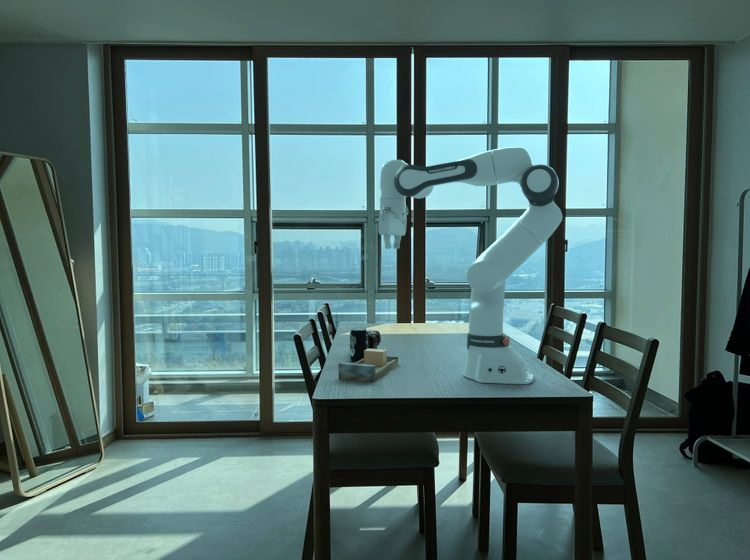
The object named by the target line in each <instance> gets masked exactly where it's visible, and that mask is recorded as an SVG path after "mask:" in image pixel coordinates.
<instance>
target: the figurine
mask: <svg viewBox="0 0 750 560" xmlns="http://www.w3.org/2000/svg"><path fill="white" fill-rule="evenodd" d="M366 331H367V332H368V349H378V346H379V345H380V344H381V343H382V337H381V332H380V331H379V330H373V329H369V330H366Z"/></svg>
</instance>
